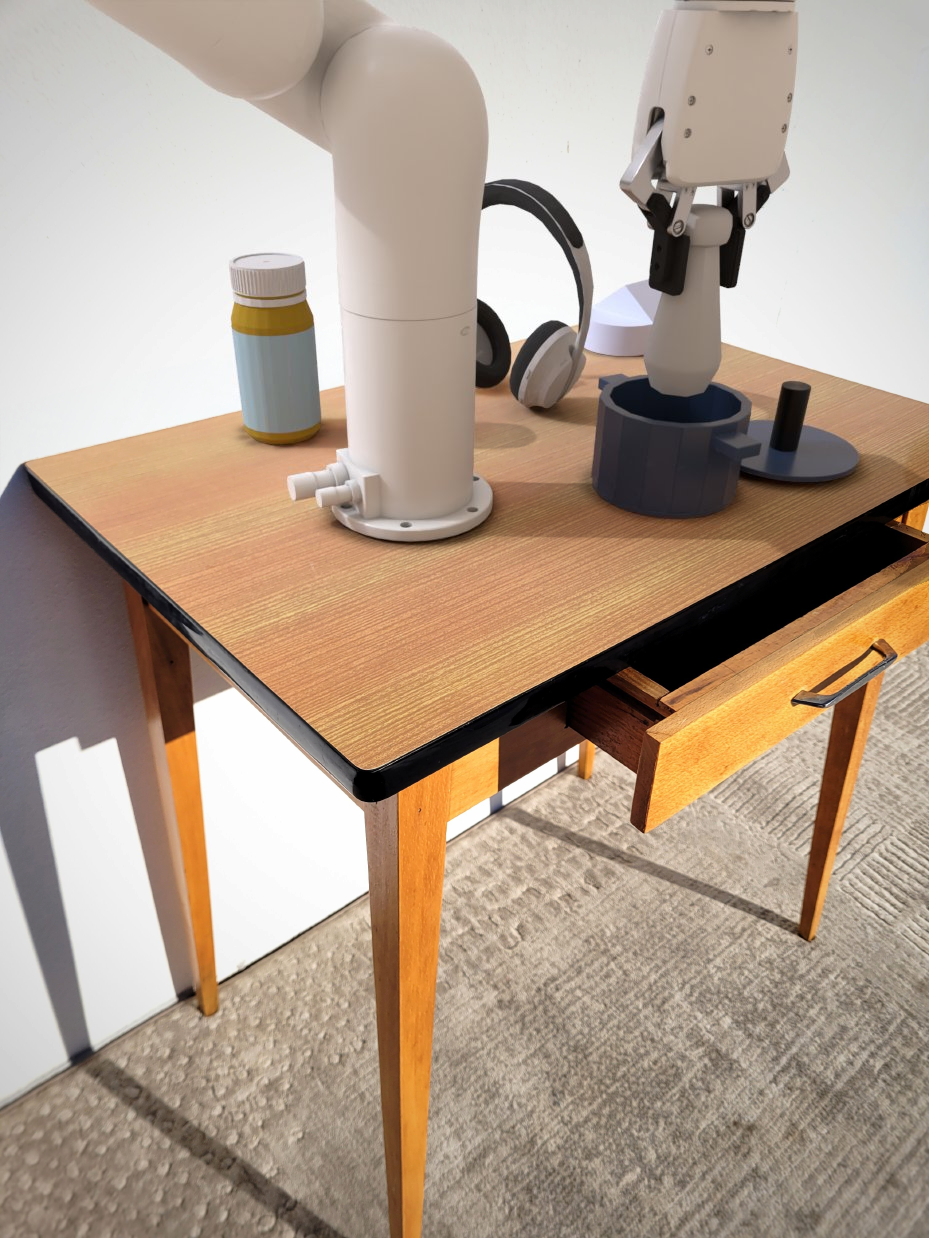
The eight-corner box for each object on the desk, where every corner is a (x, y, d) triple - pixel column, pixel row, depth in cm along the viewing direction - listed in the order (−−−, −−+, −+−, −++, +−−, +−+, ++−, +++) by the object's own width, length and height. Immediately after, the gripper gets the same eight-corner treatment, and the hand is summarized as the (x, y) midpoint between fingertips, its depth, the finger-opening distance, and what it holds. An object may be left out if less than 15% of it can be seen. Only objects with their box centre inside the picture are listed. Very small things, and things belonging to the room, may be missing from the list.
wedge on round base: (631, 322, 116) (564, 343, 108) (637, 267, 112) (569, 284, 105) (691, 338, 111) (626, 361, 103) (700, 280, 107) (633, 300, 99)
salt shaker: (711, 376, 74) (740, 200, 66) (721, 402, 69) (753, 215, 62) (637, 373, 74) (658, 198, 67) (642, 398, 69) (665, 212, 62)
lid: (779, 500, 74) (797, 422, 70) (678, 445, 83) (689, 373, 80) (888, 471, 79) (909, 397, 76) (781, 422, 88) (796, 354, 85)
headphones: (606, 411, 90) (628, 188, 79) (549, 434, 85) (565, 199, 74) (467, 365, 101) (470, 164, 90) (410, 382, 96) (406, 172, 85)
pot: (672, 546, 67) (688, 450, 63) (547, 461, 80) (553, 377, 76) (789, 514, 72) (810, 423, 68) (654, 438, 85) (665, 357, 80)
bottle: (302, 412, 89) (287, 248, 80) (335, 436, 84) (323, 264, 76) (233, 426, 85) (211, 256, 77) (263, 452, 81) (242, 274, 72)
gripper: (791, -12, 63) (743, 266, 73) (589, -19, 57) (567, 288, 67) (879, -14, 58) (814, 287, 68) (667, -21, 51) (629, 314, 61)
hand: (692, 285), depth 67 cm, fingers closed on salt shaker, 4 cm apart
